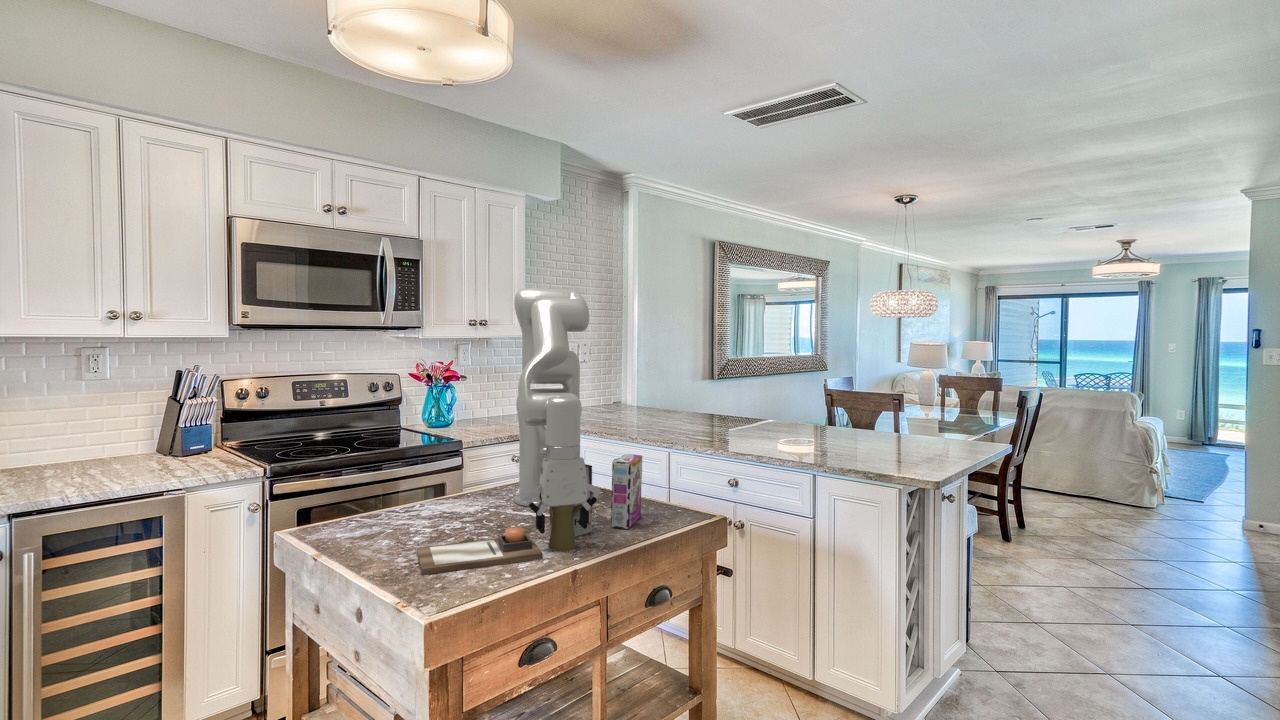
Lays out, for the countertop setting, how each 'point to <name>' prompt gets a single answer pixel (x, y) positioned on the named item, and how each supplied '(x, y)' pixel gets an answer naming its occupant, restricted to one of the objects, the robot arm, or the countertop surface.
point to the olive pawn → (562, 529)
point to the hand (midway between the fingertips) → (562, 529)
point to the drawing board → (476, 554)
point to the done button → (514, 534)
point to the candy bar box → (626, 491)
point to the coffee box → (576, 511)
